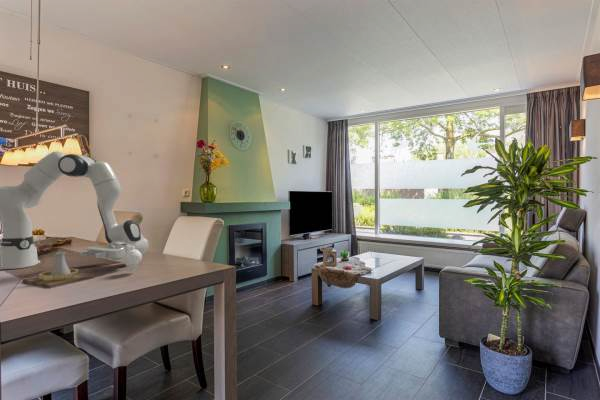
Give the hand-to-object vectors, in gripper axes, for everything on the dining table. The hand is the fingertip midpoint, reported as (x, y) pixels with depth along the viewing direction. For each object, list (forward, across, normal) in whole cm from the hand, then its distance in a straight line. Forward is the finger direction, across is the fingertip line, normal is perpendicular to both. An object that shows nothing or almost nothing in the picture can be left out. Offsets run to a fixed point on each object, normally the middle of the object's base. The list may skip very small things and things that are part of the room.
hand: (88, 255), depth 150 cm
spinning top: (-9, +17, +8) cm, 21 cm away
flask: (+12, 0, +7) cm, 14 cm away
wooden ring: (+12, 0, +7) cm, 14 cm away
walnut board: (+12, 0, +8) cm, 15 cm away
